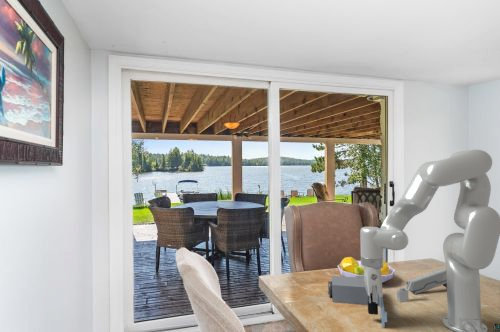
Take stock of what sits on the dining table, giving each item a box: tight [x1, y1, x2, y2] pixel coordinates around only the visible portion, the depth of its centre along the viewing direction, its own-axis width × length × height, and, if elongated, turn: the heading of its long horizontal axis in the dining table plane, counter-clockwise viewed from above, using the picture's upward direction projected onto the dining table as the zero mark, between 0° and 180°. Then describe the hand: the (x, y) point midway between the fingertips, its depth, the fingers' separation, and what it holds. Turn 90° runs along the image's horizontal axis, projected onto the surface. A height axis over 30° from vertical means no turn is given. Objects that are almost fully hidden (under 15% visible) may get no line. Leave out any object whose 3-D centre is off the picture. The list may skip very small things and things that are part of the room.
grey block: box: [327, 275, 380, 307], centre depth 133 cm, size 12×21×8 cm, turn 75°
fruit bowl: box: [337, 256, 396, 284], centre depth 156 cm, size 28×27×11 cm
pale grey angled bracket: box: [396, 279, 414, 303], centre depth 130 cm, size 7×2×8 cm, turn 100°
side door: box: [378, 296, 388, 328], centre depth 116 cm, size 2×19×7 cm, turn 160°
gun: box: [406, 267, 447, 295], centre depth 139 cm, size 2×25×10 cm, turn 99°
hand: (372, 313), depth 112 cm, fingers closed
